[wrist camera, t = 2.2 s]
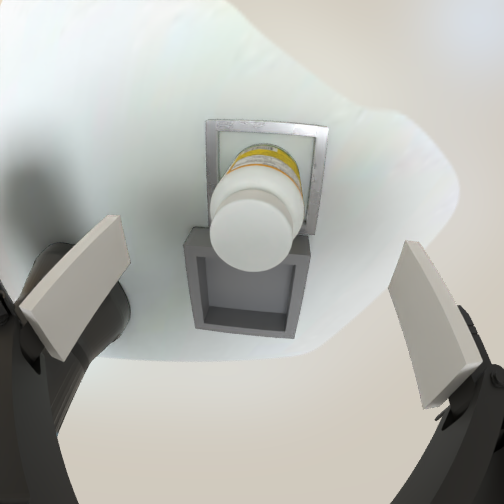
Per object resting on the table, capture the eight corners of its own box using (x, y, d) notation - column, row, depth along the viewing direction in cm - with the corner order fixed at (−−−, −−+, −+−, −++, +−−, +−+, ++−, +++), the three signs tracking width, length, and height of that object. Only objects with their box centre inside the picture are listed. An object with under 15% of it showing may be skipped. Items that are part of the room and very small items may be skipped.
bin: (202, 308, 30) (195, 328, 27) (193, 227, 24) (183, 244, 22) (294, 317, 29) (294, 338, 26) (308, 236, 23) (310, 255, 21)
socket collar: (210, 222, 24) (208, 226, 23) (208, 119, 19) (205, 120, 18) (313, 230, 23) (314, 235, 22) (327, 126, 18) (328, 127, 18)
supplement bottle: (262, 128, 19) (245, 158, 11) (313, 176, 21) (332, 238, 13) (217, 177, 21) (175, 238, 14) (266, 219, 23) (255, 298, 15)
